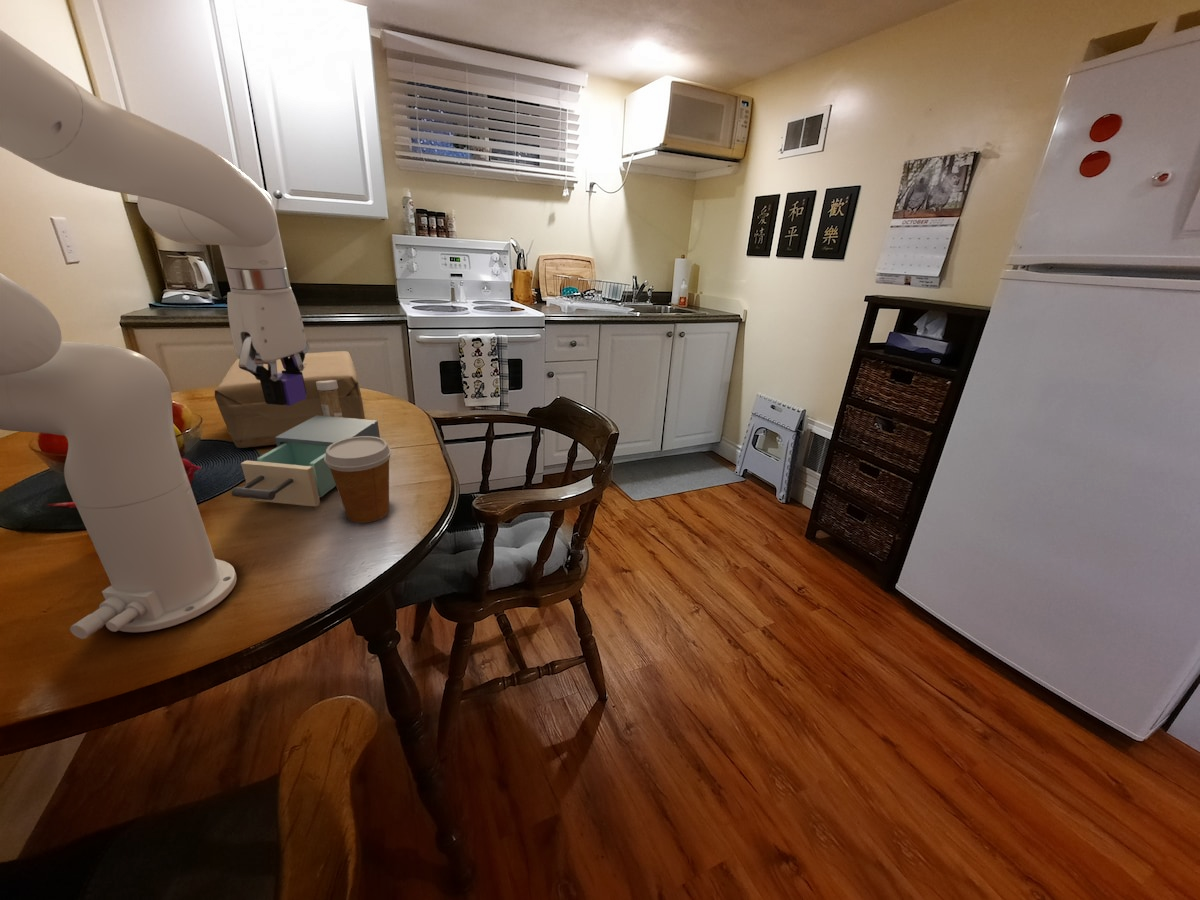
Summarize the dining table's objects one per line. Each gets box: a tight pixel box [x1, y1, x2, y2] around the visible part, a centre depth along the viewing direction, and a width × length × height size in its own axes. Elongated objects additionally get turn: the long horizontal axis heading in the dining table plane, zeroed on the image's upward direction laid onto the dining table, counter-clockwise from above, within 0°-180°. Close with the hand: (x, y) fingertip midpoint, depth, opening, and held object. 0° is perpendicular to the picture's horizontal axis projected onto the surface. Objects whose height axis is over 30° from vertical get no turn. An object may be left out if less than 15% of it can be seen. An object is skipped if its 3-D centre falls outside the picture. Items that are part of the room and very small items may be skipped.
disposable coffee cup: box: [324, 436, 392, 524], centre depth 78 cm, size 10×10×12 cm
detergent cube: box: [277, 373, 307, 406], centre depth 79 cm, size 4×4×4 cm
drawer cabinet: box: [275, 415, 381, 447], centre depth 92 cm, size 12×13×9 cm
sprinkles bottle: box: [316, 380, 342, 417], centre depth 105 cm, size 5×5×14 cm
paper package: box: [214, 350, 366, 449], centre depth 111 cm, size 27×26×14 cm
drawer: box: [231, 442, 337, 507], centre depth 81 cm, size 16×11×7 cm
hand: (286, 398), depth 79 cm, fingers closed on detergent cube, 4 cm apart
